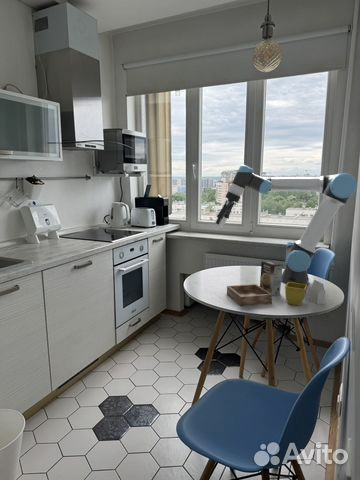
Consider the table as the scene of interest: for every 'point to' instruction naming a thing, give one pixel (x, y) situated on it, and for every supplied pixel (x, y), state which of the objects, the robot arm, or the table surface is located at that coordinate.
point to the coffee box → (271, 276)
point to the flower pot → (295, 293)
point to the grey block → (317, 292)
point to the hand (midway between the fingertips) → (217, 228)
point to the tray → (249, 295)
